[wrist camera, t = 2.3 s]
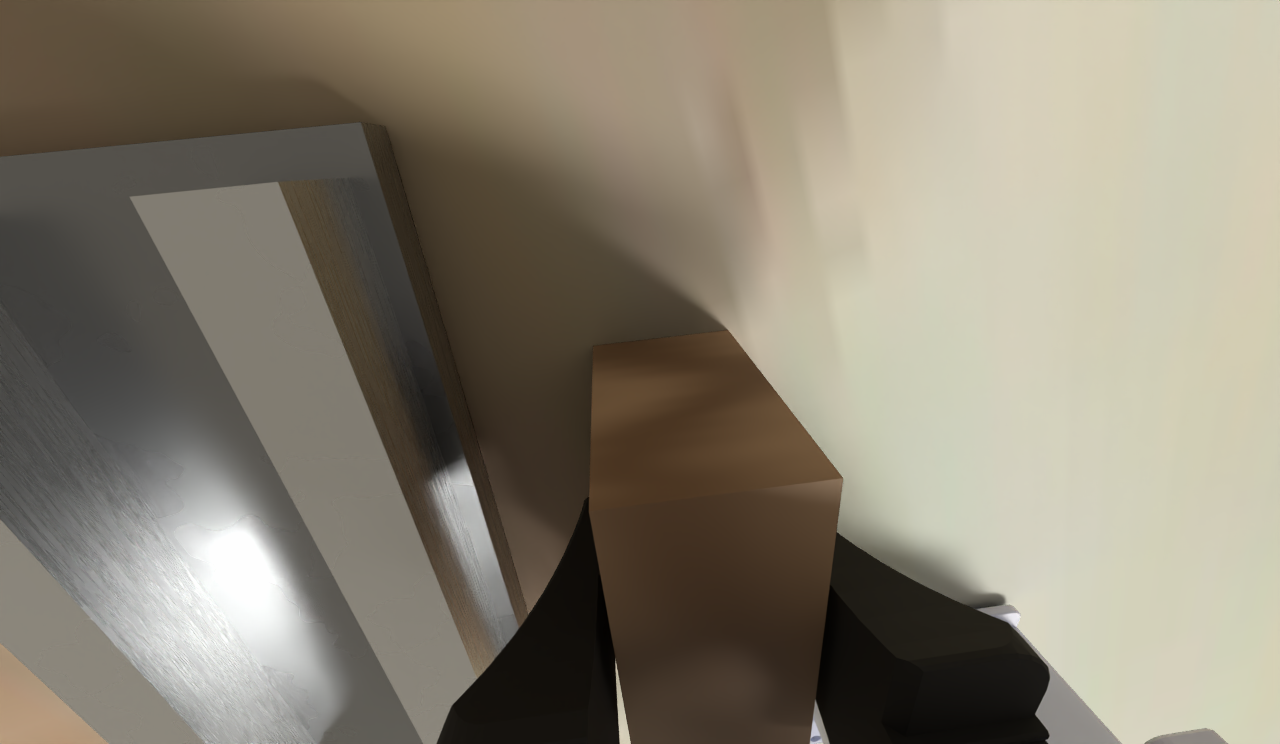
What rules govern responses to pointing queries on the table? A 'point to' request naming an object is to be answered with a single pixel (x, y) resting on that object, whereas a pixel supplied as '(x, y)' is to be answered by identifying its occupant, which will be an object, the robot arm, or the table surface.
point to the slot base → (238, 447)
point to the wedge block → (709, 542)
